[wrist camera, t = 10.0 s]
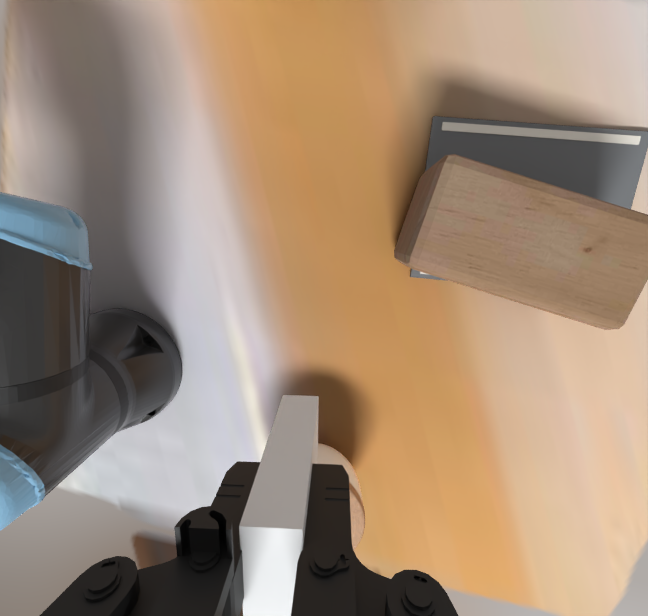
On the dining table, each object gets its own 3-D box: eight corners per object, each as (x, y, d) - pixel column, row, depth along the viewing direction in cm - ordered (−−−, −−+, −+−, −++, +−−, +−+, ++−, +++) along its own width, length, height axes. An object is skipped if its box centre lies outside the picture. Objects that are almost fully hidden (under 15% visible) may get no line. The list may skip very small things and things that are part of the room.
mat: (410, 276, 41) (410, 277, 40) (432, 117, 37) (434, 115, 36) (603, 294, 40) (607, 295, 39) (647, 133, 36) (652, 131, 35)
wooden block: (446, 147, 28) (684, 222, 28) (421, 169, 38) (597, 225, 38) (403, 266, 30) (624, 336, 30) (390, 258, 40) (556, 311, 40)
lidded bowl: (358, 510, 48) (361, 590, 37) (269, 502, 49) (247, 578, 38) (365, 428, 45) (370, 490, 35) (270, 421, 46) (246, 479, 35)
